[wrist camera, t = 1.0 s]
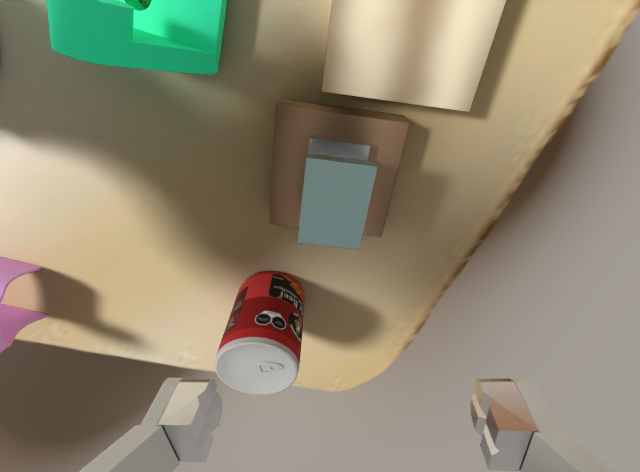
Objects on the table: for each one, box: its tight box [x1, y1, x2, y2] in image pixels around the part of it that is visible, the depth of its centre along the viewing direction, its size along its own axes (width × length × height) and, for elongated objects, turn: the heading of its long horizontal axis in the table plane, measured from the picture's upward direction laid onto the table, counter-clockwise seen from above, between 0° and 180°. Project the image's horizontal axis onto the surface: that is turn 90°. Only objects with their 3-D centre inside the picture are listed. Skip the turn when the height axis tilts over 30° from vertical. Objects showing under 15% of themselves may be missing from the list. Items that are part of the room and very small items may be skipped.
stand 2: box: [322, 0, 506, 112], centre depth 26 cm, size 12×12×3 cm
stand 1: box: [269, 99, 410, 237], centre depth 33 cm, size 11×11×3 cm
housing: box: [297, 135, 377, 250], centre depth 29 cm, size 5×7×6 cm
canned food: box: [215, 271, 305, 395], centre depth 38 cm, size 8×8×11 cm
